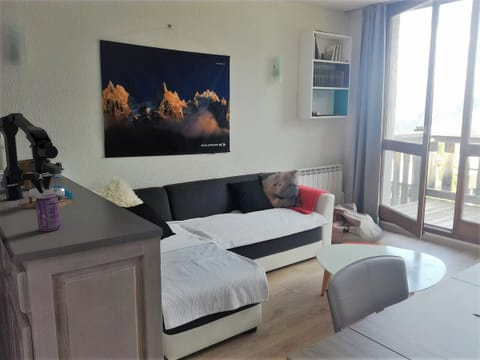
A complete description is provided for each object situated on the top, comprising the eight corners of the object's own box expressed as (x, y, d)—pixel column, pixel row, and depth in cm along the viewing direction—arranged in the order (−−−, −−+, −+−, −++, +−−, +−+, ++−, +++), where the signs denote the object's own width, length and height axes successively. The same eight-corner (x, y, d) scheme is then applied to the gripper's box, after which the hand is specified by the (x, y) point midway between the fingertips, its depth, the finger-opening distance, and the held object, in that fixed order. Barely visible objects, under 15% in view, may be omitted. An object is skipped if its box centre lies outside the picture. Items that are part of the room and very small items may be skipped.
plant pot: (58, 186, 227) (55, 158, 224) (30, 192, 214) (27, 162, 211) (41, 184, 236) (38, 157, 233) (14, 189, 222) (10, 161, 219)
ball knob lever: (29, 196, 178) (28, 190, 177) (35, 194, 182) (34, 188, 181) (61, 196, 175) (60, 190, 175) (67, 194, 179) (66, 188, 179)
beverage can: (43, 227, 143) (39, 194, 141) (64, 226, 143) (60, 193, 141) (35, 233, 136) (30, 198, 134) (56, 231, 136) (52, 197, 134)
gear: (78, 195, 190) (61, 183, 184) (71, 206, 187) (54, 194, 181) (67, 196, 197) (50, 184, 191) (60, 206, 194) (43, 194, 188)
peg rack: (18, 207, 176) (16, 197, 176) (33, 202, 186) (32, 193, 185) (58, 207, 173) (57, 197, 172) (72, 202, 182) (71, 192, 182)
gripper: (42, 160, 165) (46, 197, 168) (68, 155, 183) (72, 188, 186) (18, 160, 167) (23, 197, 170) (47, 155, 185) (51, 188, 188)
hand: (44, 192), depth 178 cm, fingers closed on ball knob lever, 3 cm apart
